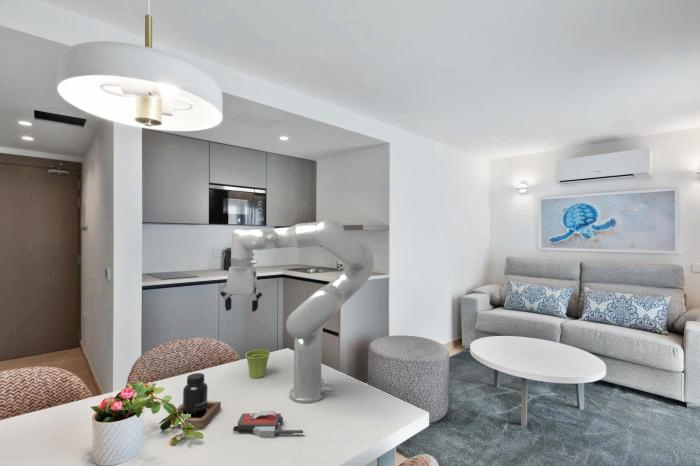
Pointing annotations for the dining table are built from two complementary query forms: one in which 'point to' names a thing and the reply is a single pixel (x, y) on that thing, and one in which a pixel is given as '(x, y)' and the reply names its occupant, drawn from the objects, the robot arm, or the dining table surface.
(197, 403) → the supplement bottle
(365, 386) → the dining table surface
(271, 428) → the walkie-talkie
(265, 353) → the plant pot
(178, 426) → the wooden tray
